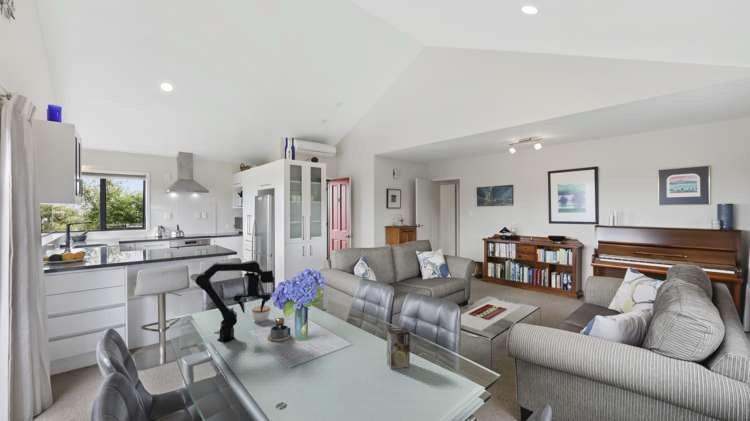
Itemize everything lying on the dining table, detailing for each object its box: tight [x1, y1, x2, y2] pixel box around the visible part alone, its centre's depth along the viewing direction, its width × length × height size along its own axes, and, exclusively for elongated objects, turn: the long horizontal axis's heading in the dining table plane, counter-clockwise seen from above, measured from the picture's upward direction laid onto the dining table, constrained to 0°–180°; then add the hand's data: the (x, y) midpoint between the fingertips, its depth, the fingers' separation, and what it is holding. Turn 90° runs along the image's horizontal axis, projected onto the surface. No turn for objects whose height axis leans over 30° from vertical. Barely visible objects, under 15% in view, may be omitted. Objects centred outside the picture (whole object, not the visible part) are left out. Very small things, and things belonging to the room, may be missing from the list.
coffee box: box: [386, 327, 411, 370], centre depth 147 cm, size 9×6×16 cm
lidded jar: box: [251, 305, 271, 323], centre depth 200 cm, size 11×11×9 cm
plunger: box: [274, 317, 285, 331], centre depth 176 cm, size 7×7×9 cm
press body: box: [267, 324, 292, 343], centre depth 176 cm, size 12×12×5 cm
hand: (252, 312), depth 176 cm, fingers open, 9 cm apart
